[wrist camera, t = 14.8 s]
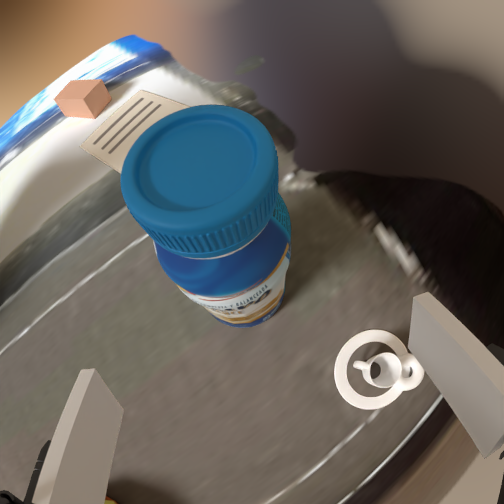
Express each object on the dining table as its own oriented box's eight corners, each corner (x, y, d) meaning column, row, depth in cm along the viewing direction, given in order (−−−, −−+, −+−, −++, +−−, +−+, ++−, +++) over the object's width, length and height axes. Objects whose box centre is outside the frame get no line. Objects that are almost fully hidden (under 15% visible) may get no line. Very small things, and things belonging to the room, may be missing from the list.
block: (83, 99, 38) (53, 99, 40) (95, 119, 43) (65, 116, 44) (101, 79, 40) (70, 80, 41) (112, 99, 44) (81, 98, 46)
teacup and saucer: (426, 361, 26) (446, 359, 22) (383, 426, 24) (398, 433, 20) (364, 314, 29) (376, 306, 25) (316, 380, 27) (323, 381, 23)
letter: (162, 200, 35) (161, 199, 34) (80, 147, 40) (79, 146, 40) (233, 125, 38) (233, 123, 38) (140, 91, 44) (140, 89, 43)
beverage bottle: (295, 259, 31) (317, 103, 12) (272, 340, 28) (265, 283, 9) (217, 239, 32) (154, 86, 14) (190, 315, 29) (67, 224, 11)
